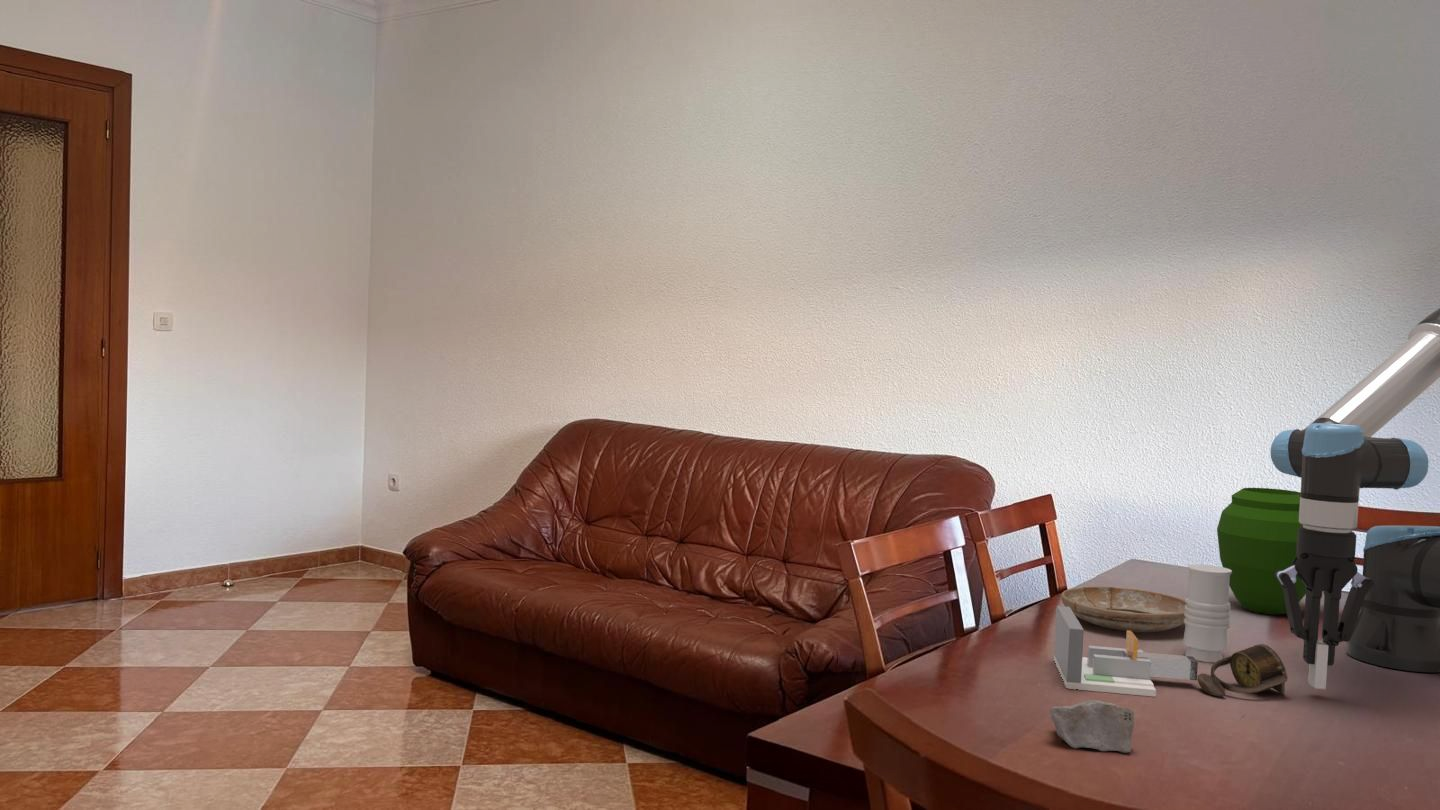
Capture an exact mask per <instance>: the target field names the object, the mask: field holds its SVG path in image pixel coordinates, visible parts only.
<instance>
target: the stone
mask: <svg viewBox="0 0 1440 810" xmlns="http://www.w3.org/2000/svg"><path fill="white" fill-rule="evenodd" d="M1050 714H1051V715H1050V719H1051V720H1052V722H1053V725H1054V727H1055V729H1056V734H1057V736H1058V737H1059V739H1061V740H1062V741H1064V742H1065V743H1067V745H1069V747H1070V748H1072V749H1080V748H1087V749H1095V750H1098V751H1100V752H1113V751H1114V752H1120V753H1124V754H1125V753H1126V754H1128V753H1130V752H1131V751H1132V743H1133V732H1134V728H1135V717H1134V716H1135V712H1134V711H1133V710H1132V708H1130V707H1124V706H1123V707H1122V706H1119V705H1117V704H1115V703H1112V702H1106V701H1103V700H1100V699H1099V700H1098V699H1089V700H1084V701H1080V702H1078V703H1076V704H1073V705H1064V706H1062V705H1061V706H1051V707H1050Z"/></svg>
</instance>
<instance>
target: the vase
mask: <svg viewBox="0 0 1440 810" xmlns="http://www.w3.org/2000/svg"><path fill="white" fill-rule="evenodd" d="M1300 492H1301V491H1296V490H1295V491H1294V490H1290V489H1282V488H1281V489H1279V488H1278V489H1277V488H1270V487H1269V488H1268V487H1266V488H1265V487H1243V488H1241V489H1240V490H1238V491H1236V492H1235V493H1232V495H1231V502H1230V503H1229V504H1228V505H1227V506H1226V507H1225V508H1224V509H1223V510H1222V511H1221V514H1220V517H1219V521H1218V524H1217V527H1216V533H1217V534H1216V535H1217V541H1218V551H1219V552H1218V553H1219V560H1220V562H1221V565H1222V566H1221V567H1224V568H1228V569H1230V570H1232V574H1231V575H1230V580H1229V589H1230V590H1231V592H1232V593H1233V595H1234V597H1235V599H1236V600H1237V601H1238V602H1239V604H1240V605H1241V606H1242V607H1243V608H1244V609H1246V610H1247V611H1250V612H1253V613H1257V614H1262V615H1271V616H1272V615H1273V616H1277V615H1278V616H1281V615H1285V614H1286V615H1287V610H1286V605H1285V600H1284V595H1283V590H1282V585H1281V584H1280V582H1279V581H1278V579H1277V577H1276V576H1275V573H1276V571H1278V570H1281V571H1283V570H1285V569H1287V568H1289V567H1291V566H1292V562H1293V560H1294V559H1295V557H1296V554H1297V535H1298V529H1299V528H1300V527H1302V526H1303V524H1300V523H1299V508H1300V497H1301V496H1300ZM1294 585H1295V587H1296V591H1297V596H1298V601H1299V603H1300V602H1301V601H1302V599H1303V598H1304V597H1306V593H1305V585H1304V584H1303V582H1302V581H1301V579H1300V578H1299V576H1298V575H1297V574H1296V582H1295V583H1294Z"/></svg>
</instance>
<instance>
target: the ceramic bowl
mask: <svg viewBox="0 0 1440 810" xmlns="http://www.w3.org/2000/svg"><path fill="white" fill-rule="evenodd" d="M1060 597H1061V602H1062V604H1063V606H1066V607H1070V608H1071V610H1072V611H1073V613H1074V615H1075V616H1076V618H1079V619H1081V620H1083V621H1084V622H1086V623H1087V622H1088V623H1090V624H1093V625H1097V626H1098V627H1099V626H1100V627H1104V628H1107V629H1113V630H1118V631H1124V632H1127V630H1131V631H1132V633H1157V632H1158V633H1159V632H1164V631H1169V630H1172V629H1175V628H1179V626H1182V625H1183V624H1185V623H1184V619H1185V618H1186V617H1185V616H1184V613H1185V611H1187V610H1186V609H1185V605H1186V604H1187V603H1186V602H1185V599H1182V598H1179V597H1176V596H1172V595H1168V594H1164V593H1160V592H1154V591H1149V590H1142V589H1141V590H1140V589H1134V588H1127V587H1125V588H1124V587H1113V586H1088V587H1087V586H1086V587H1085V586H1083V587H1076V588H1075V587H1074V588H1069V589H1066V590H1064V591H1062V593H1061V596H1060Z"/></svg>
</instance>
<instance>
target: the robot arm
mask: <svg viewBox="0 0 1440 810" xmlns="http://www.w3.org/2000/svg"><path fill="white" fill-rule="evenodd" d="M1439 379H1440V307H1439V308H1438V309H1435V311H1433V312H1432V313H1430V314H1428V315H1427V316H1426V317H1425V318H1423V319H1422V320H1421V321H1420V322H1418V324H1417V325H1415V326H1414V327H1412V329H1411V330H1410V331H1409V333H1408V337H1407V341H1406V342H1405V343H1403V345H1401V346H1400V347H1399V348H1398V349H1396V350H1395V352H1393V353H1392V354H1391V355H1389V356H1388V357H1387V358H1386V359H1385V360H1383V362H1381V363H1380V364H1379V365H1378V366H1377V367H1375V368H1374V369H1373V370H1372V371H1371V372H1370V373H1368V375H1365V377H1364V378H1363V379H1362V380H1360V381H1359V382H1358V383H1356V385H1355V386H1353V387H1352V388H1351V389H1350V390H1348V391H1347V392H1346V393H1345V394H1344V395H1343V396H1341V397H1340V398H1339V399H1338V400H1337V401H1336V402H1335V403H1333V404H1331V406H1330V407H1328V409H1326V410H1325V411H1324V412H1323V413H1322V414H1320V415H1319V416H1318V417H1317V418H1316V419H1315V420H1313V422H1311V423H1310V424H1308V425H1307V426H1306V427H1305V428H1304V429H1299V428H1296V429H1295V428H1294V429H1286V430H1283V431H1280V432H1279V433H1278V434H1277V435H1276V436H1275V437H1274V439H1273V440H1272V443H1271V446H1270V459H1271V462H1272V464H1273V465H1274V467H1275V468H1276V470H1278V471H1279V472H1280V473H1282V474H1285V475H1289V476H1293V477H1294V476H1295V477H1296V478H1297V477H1298V478H1301V482H1300V483H1301V484H1300V491H1299V492H1300V496H1301V497H1300V508H1299V523H1300V524H1303V526H1302V527H1300V528H1299V529H1298V535H1297V554H1296V557H1295V559H1294V560H1293V562H1292V566H1291V567H1289V568H1287V569H1285V570H1283V571H1281V570H1278V571H1276V573H1275V576H1276V577H1277V579H1278V581H1279V582H1280V584H1281V585H1282V590H1283V595H1284V600H1285V605H1286V610H1287V613H1286V615H1287V620H1288V624H1289V631H1290V633H1291V634H1292V635H1294V636H1295V637H1297V638H1298V639H1302V641H1303V652H1302V659H1303V661H1304V663H1306V664H1307V665H1308V674H1307V675H1308V679H1307V683H1308V684H1309V685H1310V686H1311V687H1312V688H1314V689H1318V690H1319V689H1320V690H1326V688H1327V673H1328V666H1329V667H1331V666H1334V664H1335V653H1336V647H1338V646H1339V644H1340V643H1344V642H1346V648H1345V649H1346V650H1345V651H1346V652H1345V653H1346V654H1347V655H1349V656H1350V657H1352V658H1354V659H1355V660H1358V661H1362V662H1365V663H1367V664H1371V665H1374V666H1375V665H1376V666H1380V667H1384V668H1388V669H1395V670H1401V671H1407V672H1419V673H1440V526H1436V525H1435V526H1434V525H1375V526H1373V527H1370V528H1369V529H1368V530H1367V531H1366V535H1365V541H1364V547H1363V550H1362V551H1363V560H1362V573H1360V572H1359V571H1358V566H1357V564H1356V562H1355V561H1356V560H1355V559H1356V558H1355V557H1356V548H1357V534H1356V533H1355V532H1354V531H1353V530H1356V529H1357V528H1358V521H1359V520H1358V516H1359V502H1360V500H1359V499H1360V489H1393V490H1400V489H1407V488H1413V487H1416V486H1418V485H1419V484H1420V483H1422V482H1423V481H1424V479H1425V478H1426V477H1427V474H1428V472H1429V457H1428V454H1427V452H1426V450H1425V449H1424V447H1422V446H1421V445H1420V444H1419V443H1418V442H1416V441H1414V440H1411V439H1403V438H1401V437H1391V438H1388V437H1387V438H1386V437H1384V438H1383V437H1373V436H1374V435H1375V434H1377V432H1379V431H1381V429H1382V428H1383V427H1384V426H1385V425H1387V424H1388V423H1389V422H1390V421H1391V420H1393V419H1394V418H1395V417H1396V416H1397V415H1398V414H1399V413H1401V412H1402V411H1403V410H1405V408H1406V407H1407V406H1409V405H1410V404H1411V403H1412V402H1413V401H1414V400H1415V399H1417V398H1418V397H1419V396H1420V395H1421V394H1423V393H1424V392H1425V391H1426V390H1427V389H1428V388H1430V386H1431V385H1433V384H1434V383H1435V382H1436V381H1437V380H1439ZM1296 574H1297V575H1298V576H1299V578H1300V579H1301V581H1302V582H1303V584H1304V585H1305V593H1306V594H1305V601H1304V602H1305V603H1304V614H1303V615H1304V617H1302V613H1301V612H1302V611H1301V607H1300V602H1299V601H1298V596H1297V591H1296V587H1295V585H1294V583H1295V582H1296ZM1350 581H1351V582H1350ZM1349 582H1350V585H1351V587H1350V589H1349V591H1348V594H1347V598H1346V599H1345V603H1344V606H1343V609H1342V612H1341V615H1340V616H1339V613H1340V612H1339V611H1340V603H1341V602H1340V601H1341V599H1342V590H1343V589H1344V588H1345V587H1346V586H1347V585H1348V584H1349ZM1323 596H1324V599H1323V611H1322V614H1323V615H1322V630H1321V639H1322V640H1318V639H1319V627H1320V610H1321V600H1322V598H1323Z"/></svg>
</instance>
